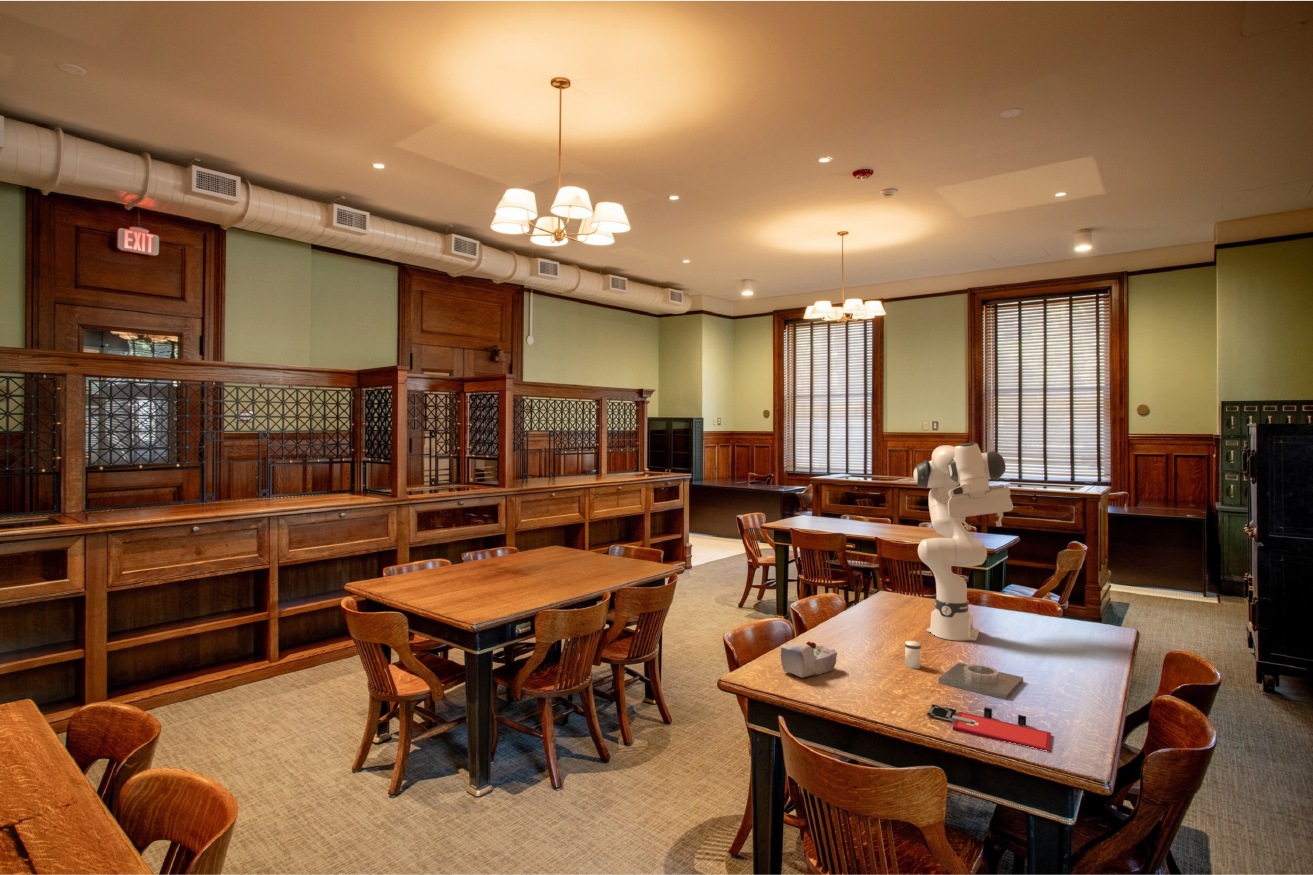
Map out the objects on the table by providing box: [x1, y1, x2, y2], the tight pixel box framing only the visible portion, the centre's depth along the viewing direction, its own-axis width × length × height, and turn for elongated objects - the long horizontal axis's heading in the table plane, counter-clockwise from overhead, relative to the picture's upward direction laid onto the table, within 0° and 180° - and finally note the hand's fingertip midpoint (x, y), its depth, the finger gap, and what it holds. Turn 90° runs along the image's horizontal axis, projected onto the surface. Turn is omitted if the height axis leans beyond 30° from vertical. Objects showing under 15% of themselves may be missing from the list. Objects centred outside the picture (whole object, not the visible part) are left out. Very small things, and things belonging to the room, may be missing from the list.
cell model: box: [780, 640, 838, 679], centre depth 222 cm, size 13×11×20 cm
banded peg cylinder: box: [904, 640, 922, 670], centre depth 227 cm, size 5×5×8 cm
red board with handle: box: [926, 704, 1052, 752], centre depth 180 cm, size 30×3×15 cm
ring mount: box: [938, 662, 1024, 701], centre depth 213 cm, size 20×20×4 cm
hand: (984, 528), depth 224 cm, fingers open, 8 cm apart
